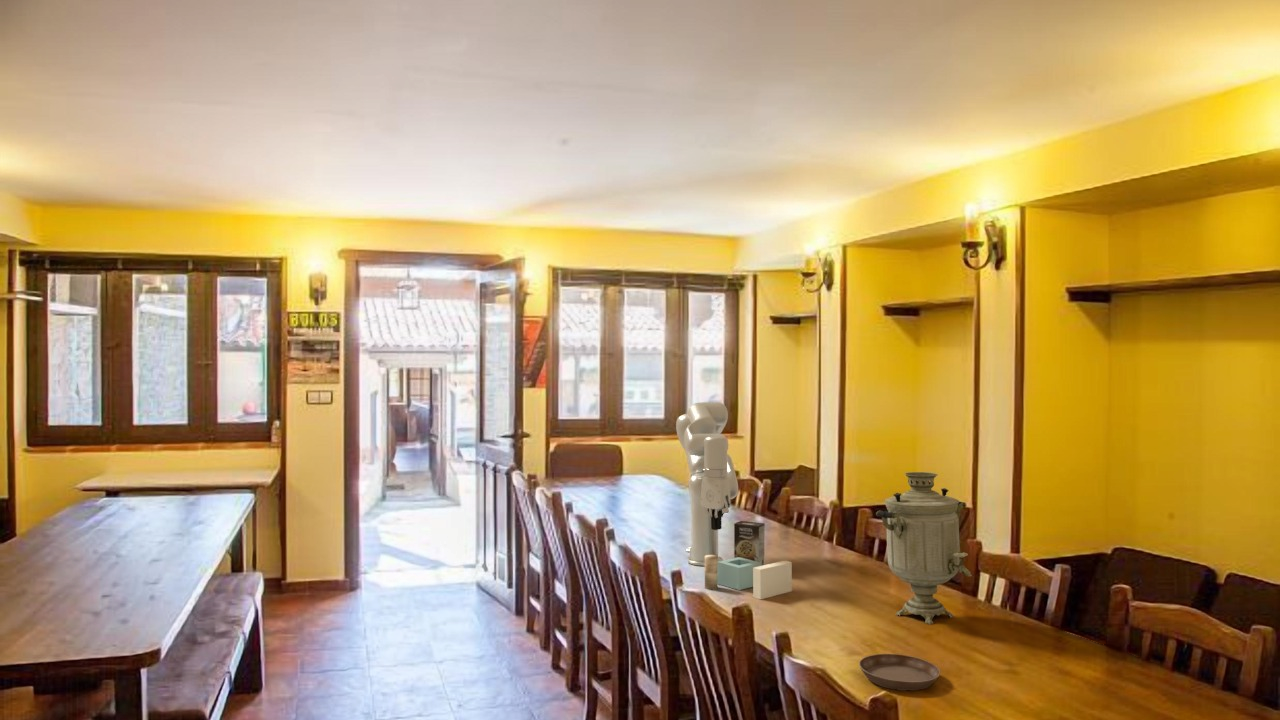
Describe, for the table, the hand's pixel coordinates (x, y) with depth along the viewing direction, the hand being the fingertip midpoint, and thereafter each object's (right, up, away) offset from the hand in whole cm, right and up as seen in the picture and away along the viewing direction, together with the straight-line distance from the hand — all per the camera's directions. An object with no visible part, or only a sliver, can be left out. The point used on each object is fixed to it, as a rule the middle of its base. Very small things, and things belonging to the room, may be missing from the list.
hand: (716, 529), depth 286 cm
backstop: (+16, -16, -19) cm, 30 cm away
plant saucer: (+34, -17, -88) cm, 96 cm away
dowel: (-3, -16, -11) cm, 20 cm away
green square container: (+7, -16, -8) cm, 19 cm away
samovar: (+55, -16, -45) cm, 73 cm away
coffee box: (+12, -16, +11) cm, 23 cm away
